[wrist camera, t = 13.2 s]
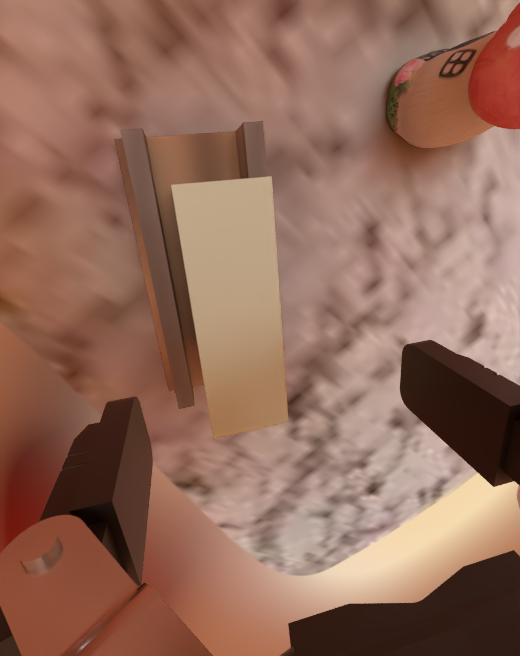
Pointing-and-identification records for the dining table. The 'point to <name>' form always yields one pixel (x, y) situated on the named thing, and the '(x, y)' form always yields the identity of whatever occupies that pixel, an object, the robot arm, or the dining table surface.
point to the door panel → (235, 299)
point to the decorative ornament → (459, 90)
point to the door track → (162, 229)
